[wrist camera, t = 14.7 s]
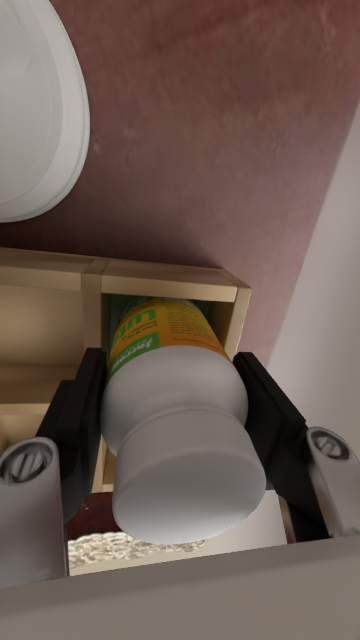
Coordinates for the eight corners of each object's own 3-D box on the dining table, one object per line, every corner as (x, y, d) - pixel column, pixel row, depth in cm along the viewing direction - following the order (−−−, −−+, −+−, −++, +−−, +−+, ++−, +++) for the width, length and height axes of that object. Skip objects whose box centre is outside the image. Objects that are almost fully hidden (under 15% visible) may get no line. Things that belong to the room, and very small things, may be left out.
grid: (225, 269, 15) (253, 288, 11) (191, 436, 21) (202, 484, 17) (-46, 242, 12) (-126, 255, 8) (3, 443, 18) (-32, 503, 14)
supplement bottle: (143, 270, 13) (152, 392, 4) (220, 313, 15) (334, 460, 6) (101, 346, 14) (42, 550, 6) (175, 376, 16) (216, 567, 8)
